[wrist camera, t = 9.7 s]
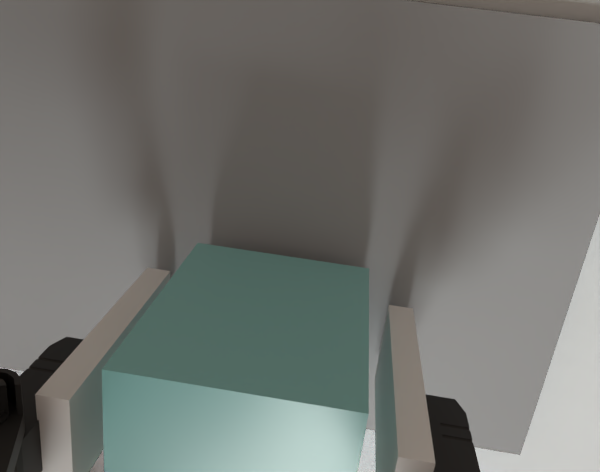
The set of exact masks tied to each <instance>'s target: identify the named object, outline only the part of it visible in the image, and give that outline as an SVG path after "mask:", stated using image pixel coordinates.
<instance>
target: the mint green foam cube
mask: <svg viewBox="0 0 600 472" xmlns="http://www.w3.org/2000/svg"><path fill="white" fill-rule="evenodd" d="M102 404H103V447H104V472H357V471H358V466H359V461H360V456H361V451H362V446H363V440H364V435H365V430H366V425H367V420H368V415H369V268H363V267H356V266H349V265H343V264H336V263H329V262H323V261H316V260H309V259H303V258H296V257H289V256H283V255H276V254H269V253H263V252H256V251H249V250H243V249H236V248H229V247H223V246H216V245H209V244H202V243H197V244H196V246H195V247H194V248H193V250H192V251H191V252H190V254H189V255H188V256H187V258H186V259H185V260H184V262H183V263H182V264H181V265H180V267H179V268H178V269H177V271H176V272H175V273H174V275H173V276H172V277H171V279H170V280H169V281H168V283H167V284H166V285H165V287H164V288H163V289H162V290H161V292H160V293H159V294H158V296H157V297H156V298H155V300H154V301H153V302H152V304H151V305H150V306H149V308H148V309H147V310H146V312H145V313H144V314H143V316H142V317H141V318H140V319H139V321H138V322H137V323H136V325H135V326H134V327H133V329H132V330H131V331H130V333H129V334H128V335H127V337H126V338H125V339H124V341H123V342H122V343H121V345H120V346H119V347H118V348H117V350H116V351H115V352H114V354H113V355H112V356H111V358H110V359H109V360H108V362H107V363H106V364H105V366H104V367H103V368H102Z"/></svg>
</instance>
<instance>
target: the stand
mask: <svg viewBox="0 0 600 472" xmlns="http://www.w3.org/2000/svg"><path fill="white" fill-rule="evenodd" d="M599 214H600V23H594V22H585V21H577V20H569V19H560V18H552V17H543V16H535V15H526V14H518V13H509V12H501V11H493V10H484V9H476V8H467V7H459V6H450V5H442V4H434V3H425V2H417V1H408V0H0V367H3V368H9V369H15V370H21V371H25V370H26V369H29V366H30V365H31V364H32V363H33V362H34V361H35V360H36V359H38V357H39V356H40V355H41V354H42V353H43V352H44V351H45V350H46V349H47V348H48V347H49V346H50V345H52V344H54V343H55V342H57V341H59V340H61V339H63V338H65V337H72V338H78V339H85V337H86V336H87V335H88V334H89V333H90V332H91V331H92V330H93V328H94V327H95V326H96V325H97V324H98V323H99V322H100V321H101V319H102V318H103V317H104V316H105V315H106V314H107V313H108V312H109V310H110V309H111V308H112V307H113V306H114V305H115V304H116V302H117V301H118V300H119V299H120V298H121V297H122V296H123V295H124V293H125V292H126V291H127V290H128V289H129V288H130V287H131V286H132V284H133V283H134V282H135V281H136V280H137V279H138V278H139V277H140V275H141V274H142V273H143V272H144V271H145V270H146V269H147V268H154V269H160V270H167V271H170V279H171V277H172V276H173V275H174V273H175V272H176V271H177V269H178V268H179V267H180V265H181V264H182V263H183V262H184V260H185V259H186V258H187V256H188V255H189V254H190V252H191V251H192V250H193V248H194V247H195V246H196V244H197V243H202V244H209V245H216V246H223V247H229V248H236V249H243V250H249V251H256V252H263V253H269V254H276V255H283V256H289V257H296V258H303V259H309V260H316V261H323V262H329V263H336V264H343V265H349V266H356V267H363V268H369V415H368V420H367V425H366V429H370V430H375V373H376V368H377V363H378V358H379V353H380V347H381V342H382V337H383V332H384V327H385V322H386V316H387V311H388V306H389V305H393V306H400V307H406V308H413V312H414V318H415V325H416V332H417V339H418V346H419V353H420V360H421V367H422V374H423V380H424V387H425V394H427V395H433V396H439V397H445V398H451V399H455V400H456V401H457V402H458V404H459V405H460V406H461V407H462V409H463V410H464V411H465V412H466V415H467V419H468V423H469V430H470V432H471V436H472V442H473V444H474V447H477V448H482V449H488V450H494V451H500V452H506V453H512V454H518V455H520V454H521V450H522V447H523V444H524V441H525V438H526V435H527V432H528V429H529V426H530V423H531V420H532V417H533V414H534V411H535V408H536V405H537V402H538V399H539V396H540V393H541V390H542V387H543V384H544V381H545V378H546V375H547V372H548V369H549V366H550V363H551V360H552V356H553V353H554V350H555V347H556V344H557V341H558V338H559V335H560V332H561V329H562V326H563V323H564V320H565V317H566V314H567V311H568V308H569V305H570V302H571V299H572V296H573V293H574V290H575V287H576V284H577V281H578V278H579V275H580V272H581V269H582V266H583V263H584V259H585V256H586V253H587V250H588V247H589V244H590V241H591V238H592V235H593V232H594V229H595V226H596V223H597V220H598V217H599Z"/></svg>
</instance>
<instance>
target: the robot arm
mask: <svg viewBox="0 0 600 472" xmlns="http://www.w3.org/2000/svg"><path fill="white" fill-rule="evenodd" d="M169 280H170V271H167V270H160V269H154V268H147V269H146V270H145V271H144V272H143V273H142V274H141V275H140V277H139V278H138V279H137V280H136V281H135V282H134V283H133V284H132V286H131V287H130V288H129V289H128V290H127V291H126V292H125V293H124V295H123V296H122V297H121V298H120V299H119V300H118V301H117V302H116V304H115V305H114V306H113V307H112V308H111V309H110V310H109V312H108V313H107V314H106V315H105V316H104V317H103V318H102V319H101V321H100V322H99V323H98V324H97V325H96V326H95V327H94V328H93V330H92V331H91V332H90V333H89V334H88V335H87V336H86V337H85V339H78V338H72V337H65V338H63V339H61V340H59V341H57V342H55V343H54V344H52V345H50V346H49V347H48V348H47V349H46V350H45V351H44V352H43V353H42V354H41V355H40V356H39V357H38V359H36V360H35V361H34V362H33V363H32V364H31V365H30V366H29V369H26V370H25V371H24V372H23V373H22V374H21V375H20V377H19V375H18V374H17V373H16V372H14V371H11V370H8V369H0V472H89V471H90V470H91V468H92V467H93V465H94V463H95V462H96V460H97V458H98V457H99V455H100V454H101V452H102V450H103V449H104V447H103V404H102V368H103V367H104V366H105V364H106V363H107V362H108V360H109V359H110V358H111V356H112V355H113V354H114V352H115V351H116V350H117V348H118V347H119V346H120V345H121V343H122V342H123V341H124V339H125V338H126V337H127V335H128V334H129V333H130V331H131V330H132V329H133V327H134V326H135V325H136V323H137V322H138V321H139V319H140V318H141V317H142V316H143V314H144V313H145V312H146V310H147V309H148V308H149V306H150V305H151V304H152V302H153V301H154V300H155V298H156V297H157V296H158V294H159V293H160V292H161V290H162V289H163V288H164V287H165V285H166V284H167V283H168V281H169ZM375 445H376V472H480V469H479V465H478V461H477V457H476V452H475V448H474V444H473V442H472V436H471V432H470V430H469V423H468V419H467V415H466V412H465V411H464V410H463V409H462V407H461V406H460V405H459V404H458V402H457V401H456V400H455V399H451V398H445V397H439V396H433V395H427V394H425V387H424V380H423V374H422V367H421V360H420V353H419V346H418V339H417V332H416V325H415V318H414V312H413V308H406V307H400V306H393V305H389V306H388V311H387V316H386V322H385V327H384V332H383V337H382V342H381V347H380V353H379V358H378V363H377V368H376V373H375Z"/></svg>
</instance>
